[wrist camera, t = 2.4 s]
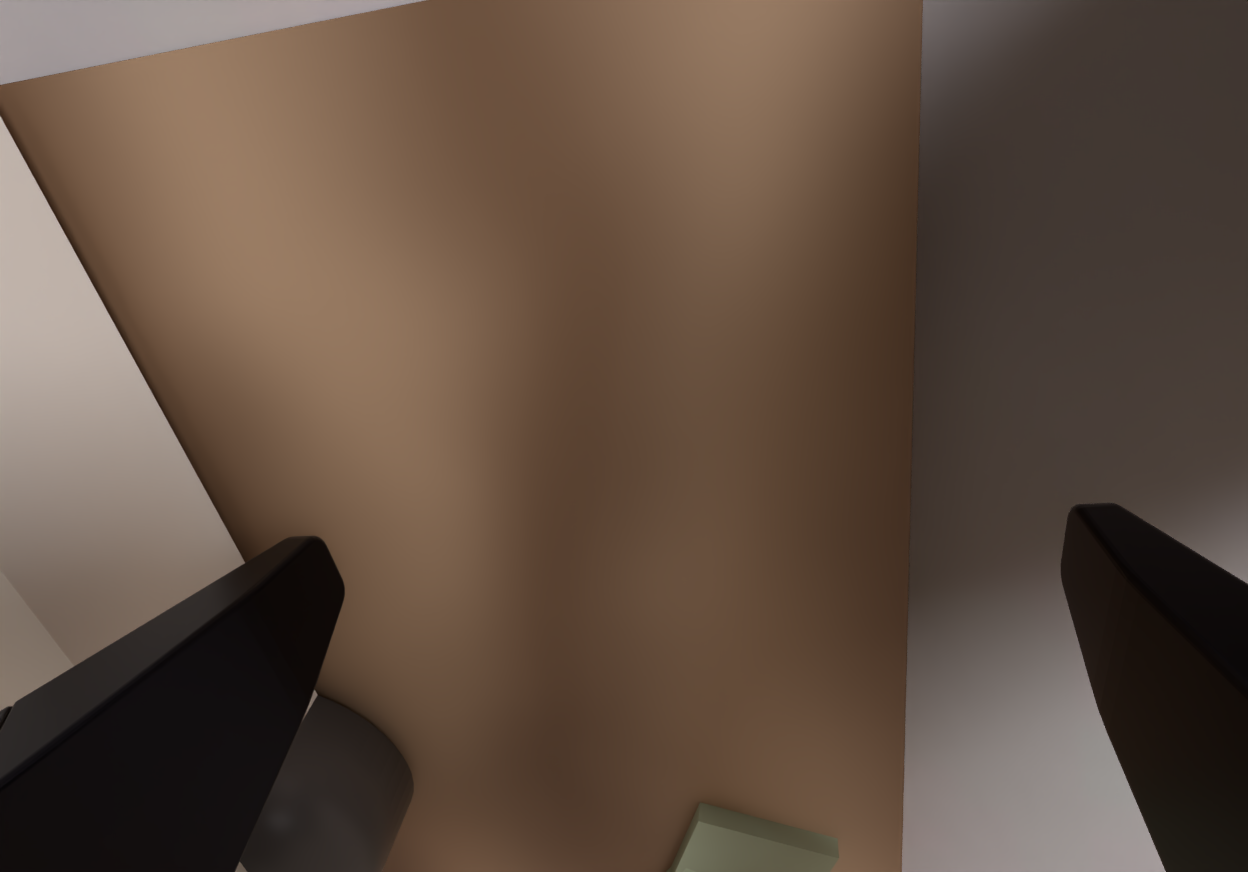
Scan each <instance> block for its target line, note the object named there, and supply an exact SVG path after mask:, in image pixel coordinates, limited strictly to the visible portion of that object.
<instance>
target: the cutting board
mask: <svg viewBox="0 0 1248 872" xmlns="http://www.w3.org/2000/svg"><path fill="white" fill-rule="evenodd" d="M922 13H923V0H426V1H421V2H416V3H411V4H406V5H401V6H396V7H391V8H386V9H381V10H376V11H371V12H366V13H361V14H356V15H351V16H345V17H340V18H335V19H330V20H325V21H320V22H315V23H310V24H305V25H300V26H295V27H290V28H285V29H280V30H275V31H270V32H265V33H260V34H255V35H250V36H245V37H240V38H235V39H230V40H225V41H220V42H215V43H210V44H205V45H200V46H195V47H190V48H185V49H180V50H175V51H169V52H164V53H159V54H154V55H149V56H144V57H139V58H134V59H129V60H124V61H119V62H114V63H109V64H104V65H99V66H94V67H89V68H84V69H79V70H74V71H69V72H64V73H59V74H54V75H49V76H44V77H39V78H34V79H29V80H24V81H19V82H14V83H9V84H4V85H0V117H1V118H2V120H3V122H4V124H5V126H6V128H7V129H8V131H9V133H10V135H11V137H12V138H13V140H14V142H15V144H16V146H17V148H18V149H19V151H20V153H21V155H22V157H23V159H24V160H25V162H26V164H27V166H28V168H29V169H30V171H31V173H32V175H33V177H34V179H35V180H36V182H37V184H38V186H39V188H40V190H41V191H42V193H43V195H44V197H45V199H46V200H47V202H48V204H49V206H50V208H51V210H52V211H53V213H54V215H55V217H56V219H57V221H58V222H59V224H60V226H61V228H62V230H63V231H64V233H65V235H66V237H67V239H68V241H69V242H70V244H71V246H72V248H73V250H74V252H75V253H76V255H77V257H78V259H79V261H80V262H81V264H82V266H83V268H84V270H85V272H86V273H87V275H88V277H89V279H90V281H91V283H92V284H93V286H94V288H95V290H96V292H97V293H98V295H99V297H100V299H101V301H102V303H103V304H104V306H105V308H106V310H107V312H108V314H109V315H110V317H111V319H112V321H113V323H114V324H115V326H116V328H117V330H118V332H119V334H120V335H121V337H122V339H123V341H124V343H125V345H126V346H127V348H128V350H129V352H130V354H131V355H132V357H133V359H134V361H135V363H136V365H137V366H138V368H139V370H140V372H141V374H142V376H143V377H144V379H145V381H146V383H147V385H148V387H149V388H150V390H151V392H152V394H153V396H154V397H155V399H156V401H157V403H158V405H159V407H160V408H161V410H162V412H163V414H164V416H165V418H166V419H167V421H168V423H169V425H170V427H171V428H172V430H173V432H174V434H175V436H176V438H177V439H178V441H179V443H180V445H181V447H182V449H183V450H184V452H185V454H186V456H187V458H188V459H189V461H190V463H191V465H192V467H193V469H194V470H195V472H196V474H197V476H198V478H199V480H200V481H201V483H202V485H203V487H204V489H205V490H206V492H207V494H208V496H209V498H210V500H211V501H212V503H213V505H214V507H215V509H216V511H217V512H218V514H219V516H220V518H221V520H222V521H223V523H224V525H225V527H226V529H227V531H228V532H229V534H230V536H231V538H232V540H233V542H234V543H235V545H236V547H237V549H238V551H239V552H240V554H241V556H242V558H243V560H244V562H245V563H246V562H247V561H249V560H251V559H252V558H254V557H256V556H257V555H259V554H261V553H262V552H264V551H266V550H267V549H269V548H271V547H272V546H274V545H275V544H277V543H279V542H280V541H282V540H284V539H286V538H288V537H292V536H310V535H314V536H318V537H320V538H321V539H323V540H324V541H325V543H326V545H327V547H328V549H329V551H330V553H331V555H332V557H333V559H334V562H335V564H336V566H337V568H338V570H339V572H340V574H341V576H342V578H343V581H344V586H345V597H344V602H343V605H342V608H341V611H340V614H339V617H338V620H337V623H336V626H335V629H334V632H333V635H332V638H331V641H330V644H329V647H328V650H327V653H326V656H325V659H324V662H323V666H322V669H321V672H320V675H319V678H318V681H317V684H316V687H315V691H316V693H317V695H319V696H321V697H324V698H326V699H329V700H331V701H333V702H335V703H337V704H339V705H341V706H343V707H345V708H347V709H349V710H351V711H353V712H354V713H356V714H358V715H359V716H361V717H362V718H364V719H365V720H367V721H368V722H369V723H371V724H372V725H374V726H375V727H376V728H377V729H378V730H380V731H381V732H382V733H383V734H384V735H385V736H386V737H387V738H388V739H389V740H390V741H391V742H392V743H393V744H394V745H395V746H396V748H397V749H398V750H399V751H400V753H401V754H402V755H403V757H404V759H405V761H406V762H407V764H408V766H409V769H410V771H411V774H412V778H413V783H414V792H413V796H412V800H411V803H410V805H409V807H408V810H407V812H406V815H405V817H404V820H403V822H402V824H401V827H400V829H399V832H398V834H397V837H396V839H395V841H394V844H393V846H392V849H391V851H390V853H389V856H388V858H387V861H386V863H385V866H384V868H383V870H382V872H902V833H903V792H904V751H905V710H906V669H907V628H908V587H909V546H910V505H911V464H912V423H913V382H914V341H915V300H916V259H917V218H918V177H919V136H920V95H921V54H922Z"/></svg>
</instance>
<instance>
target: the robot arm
mask: <svg viewBox="0 0 1248 872" xmlns="http://www.w3.org/2000/svg"><path fill="white" fill-rule="evenodd" d="M1061 578H1062V584H1063V588H1064V591H1065V595H1066V599H1067V602H1068V606H1069V609H1070V613H1071V616H1072V620H1073V623H1074V627H1075V630H1076V634H1077V637H1078V641H1079V644H1080V648H1081V652H1082V655H1083V659H1084V662H1085V666H1086V669H1087V673H1088V676H1089V680H1090V683H1091V687H1092V690H1093V694H1094V697H1095V700H1096V703H1097V707H1098V710H1099V713H1100V715H1101V718H1102V721H1103V723H1104V726H1105V728H1106V731H1107V734H1108V736H1109V738H1110V741H1111V743H1112V745H1113V748H1114V750H1115V752H1116V755H1117V757H1118V760H1119V762H1120V764H1121V767H1122V769H1123V771H1124V774H1125V776H1126V779H1127V781H1128V783H1129V786H1130V788H1131V790H1132V793H1133V795H1134V797H1135V800H1136V802H1137V805H1138V807H1139V809H1140V812H1141V814H1142V816H1143V819H1144V821H1145V824H1146V826H1147V828H1148V831H1149V833H1150V835H1151V838H1152V840H1153V842H1154V845H1155V847H1156V850H1157V852H1158V854H1159V857H1160V859H1161V861H1162V864H1163V866H1164V869H1165V871H1166V872H1248V584H1247V583H1245V582H1244V581H1242V580H1240V579H1239V578H1237V577H1235V576H1234V575H1232V574H1231V573H1229V572H1227V571H1226V570H1224V569H1222V568H1221V567H1219V566H1218V565H1216V564H1214V563H1213V562H1211V561H1209V560H1208V559H1206V558H1205V557H1203V556H1201V555H1200V554H1198V553H1196V552H1195V551H1193V550H1191V549H1190V548H1188V547H1187V546H1185V545H1183V544H1182V543H1180V542H1178V541H1177V540H1175V539H1174V538H1172V537H1170V536H1169V535H1167V534H1165V533H1164V532H1162V531H1160V530H1159V529H1157V528H1156V527H1154V526H1152V525H1151V524H1149V523H1147V522H1146V521H1144V520H1143V519H1141V518H1139V517H1138V516H1136V515H1134V514H1133V513H1131V512H1129V511H1128V510H1126V509H1125V508H1123V507H1121V506H1119V505H1117V504H1114V503H1094V504H1077V505H1075V506H1074V507H1072V508H1071V510H1070V512H1069V514H1068V518H1067V525H1066V531H1065V538H1064V545H1063V551H1062V558H1061ZM344 597H345V586H344V581H343V578H342V576H341V574H340V572H339V570H338V568H337V566H336V564H335V562H334V559H333V557H332V555H331V553H330V551H329V549H328V547H327V545H326V543H325V541H324V540H323V539H321V538H320V537H318V536H314V535H310V536H292V537H288V538H286V539H284V540H282V541H280V542H279V543H277V544H275V545H274V546H272V547H271V548H269V549H267V550H266V551H264V552H262V553H261V554H259V555H257V556H256V557H254V558H252V559H251V560H249V561H247V562H246V563H244V564H242V565H241V566H239V567H237V568H236V569H234V570H232V571H231V572H229V573H228V574H226V575H224V576H223V577H221V578H219V579H218V580H216V581H214V582H213V583H211V584H209V585H208V586H206V587H204V588H203V589H201V590H199V591H198V592H196V593H194V594H193V595H191V596H189V597H188V598H186V599H185V600H183V601H181V602H180V603H178V604H176V605H175V606H173V607H171V608H170V609H168V610H166V611H165V612H163V613H161V614H160V615H158V616H156V617H155V618H153V619H151V620H150V621H148V622H146V623H145V624H143V625H142V626H140V627H138V628H137V629H135V630H133V631H132V632H130V633H128V634H127V635H125V636H123V637H122V638H120V639H118V640H117V641H115V642H113V643H112V644H110V645H108V646H107V647H105V648H103V649H102V650H100V651H99V652H97V653H95V654H94V655H92V656H90V657H89V658H87V659H85V660H84V661H82V662H80V663H79V664H77V665H75V666H74V667H72V668H70V669H69V670H67V671H65V672H64V673H62V674H60V675H59V676H57V677H55V678H54V679H52V680H51V681H49V682H47V683H46V684H44V685H42V686H41V687H39V688H37V689H36V690H34V691H32V692H31V693H29V694H27V695H26V696H24V697H22V698H21V699H19V700H17V701H16V702H15V703H14V705H13V707H12V706H8V707H6V708H4V709H2V710H1V711H0V872H235V871H236V869H237V866H238V864H239V862H240V860H241V857H242V855H243V853H244V851H245V848H246V846H247V844H248V842H249V839H250V837H251V835H252V833H253V830H254V828H255V826H256V824H257V821H258V819H259V817H260V815H261V812H262V810H263V808H264V806H265V803H266V801H267V799H268V797H269V794H270V792H271V790H272V788H273V785H274V783H275V781H276V779H277V776H278V774H279V772H280V770H281V767H282V765H283V763H284V761H285V758H286V756H287V754H288V752H289V749H290V747H291V745H292V743H293V740H294V738H295V736H296V734H297V731H298V729H299V727H300V725H301V722H302V720H303V718H304V715H305V713H306V710H307V708H308V706H309V703H310V701H311V698H312V695H313V692H314V689H315V687H316V684H317V681H318V678H319V675H320V672H321V669H322V666H323V662H324V659H325V656H326V653H327V650H328V647H329V644H330V641H331V638H332V635H333V632H334V629H335V626H336V623H337V620H338V617H339V614H340V611H341V608H342V605H343V602H344Z"/></svg>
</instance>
